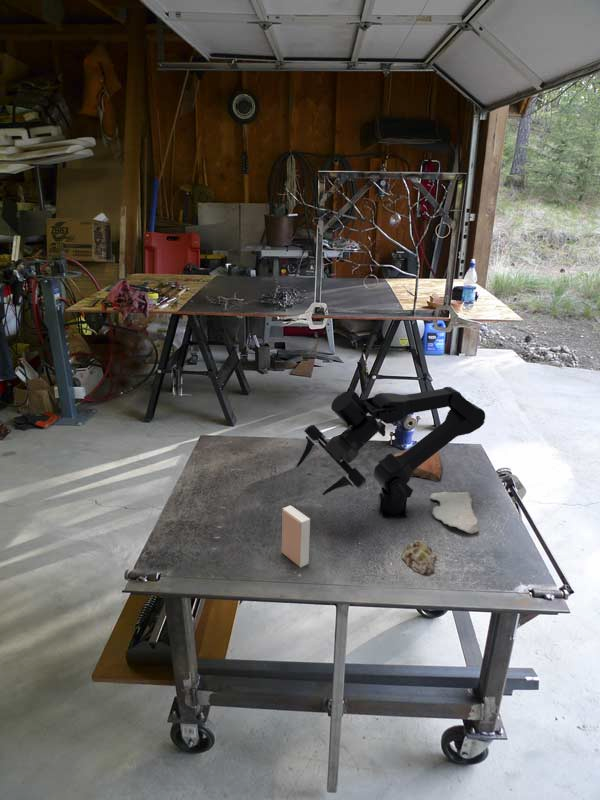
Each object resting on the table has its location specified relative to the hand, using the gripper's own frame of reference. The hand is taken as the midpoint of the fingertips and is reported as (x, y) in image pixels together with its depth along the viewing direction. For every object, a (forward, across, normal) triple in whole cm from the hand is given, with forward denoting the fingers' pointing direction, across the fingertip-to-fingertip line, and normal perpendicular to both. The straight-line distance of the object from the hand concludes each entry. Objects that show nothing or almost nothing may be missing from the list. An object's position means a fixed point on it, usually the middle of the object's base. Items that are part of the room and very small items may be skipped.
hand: (309, 480), depth 145 cm
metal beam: (+26, -8, +2) cm, 27 cm away
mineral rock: (-6, +31, +2) cm, 32 cm away
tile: (+14, +11, -4) cm, 18 cm away
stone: (-20, +30, +21) cm, 42 cm away
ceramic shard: (-22, +13, +41) cm, 48 cm away
